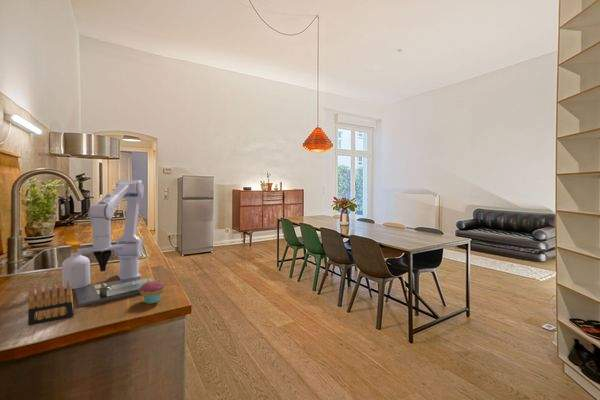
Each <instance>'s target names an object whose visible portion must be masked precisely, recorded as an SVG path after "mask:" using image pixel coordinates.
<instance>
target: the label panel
mask: <svg viewBox="0 0 600 400" xmlns="http://www.w3.org/2000/svg"><path fill="white" fill-rule="evenodd" d="M136 280H141V278H140V277H134V278H129V279H123V280H121V279H119V280H114V281H113V280H112V281H107V282H103V283H96V284H91V285H87V286H85V287H80V288H75V289H74V294H75V297H76V302H77V306H78V308H81V307H85V306H90V305H94V304H95V305H96V304H99V303H103V302H109V301H112V300H119V299H122V298H126V297H131V296H135V295H141V294H140V292H139V289H138V290H134V291H129V292H125V293H120V294H116V295H112V296H108V297H103V298H102V297H100V292H99V288H100V287H103V286H112V285H117V284H122V283H126V282H131V281H136Z"/></svg>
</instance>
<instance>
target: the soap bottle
mask: <svg viewBox="0 0 600 400" xmlns="http://www.w3.org/2000/svg"><path fill="white" fill-rule="evenodd" d="M81 228H83V226H76V227H71V228H68V229H66V230H64V243H65V245H66V246H71V248H72V249H71V250H70V256H69V257H67V258H66V259H65V260H63V261H62V263H61V273H62V274H61V275H62V276H61V278H62V279H61V280H62V282H63V284H64V290H66V286H67V282H68V280H69V281H70V283H71V290H75V288H80V287H85V286H90V284H91V261H90V259H89V258H88V256H87V257H86V256H84V255H83V254H82V255H78V249H79V247H81V246H80V245H84V244H85V243H84V242H81V241H79V242H78V241H76V231H77V230H79V229H81Z"/></svg>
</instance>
